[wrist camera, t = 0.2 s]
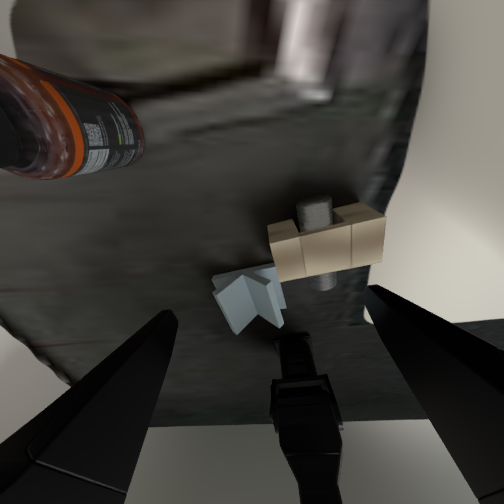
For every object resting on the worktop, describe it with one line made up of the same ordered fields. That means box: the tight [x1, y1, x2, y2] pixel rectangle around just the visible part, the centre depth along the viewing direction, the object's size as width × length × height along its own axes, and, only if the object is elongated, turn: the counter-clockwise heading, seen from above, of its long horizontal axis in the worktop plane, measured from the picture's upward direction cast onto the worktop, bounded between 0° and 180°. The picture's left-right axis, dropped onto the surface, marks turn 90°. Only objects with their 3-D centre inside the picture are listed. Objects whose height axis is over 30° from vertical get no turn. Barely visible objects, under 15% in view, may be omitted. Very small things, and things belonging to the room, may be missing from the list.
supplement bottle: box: [0, 54, 144, 180], centre depth 12 cm, size 6×6×11 cm
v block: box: [212, 262, 286, 335], centre depth 25 cm, size 8×9×4 cm
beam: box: [267, 202, 386, 282], centre depth 20 cm, size 5×10×5 cm, turn 106°
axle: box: [296, 195, 336, 291], centre depth 21 cm, size 11×4×4 cm, turn 16°
